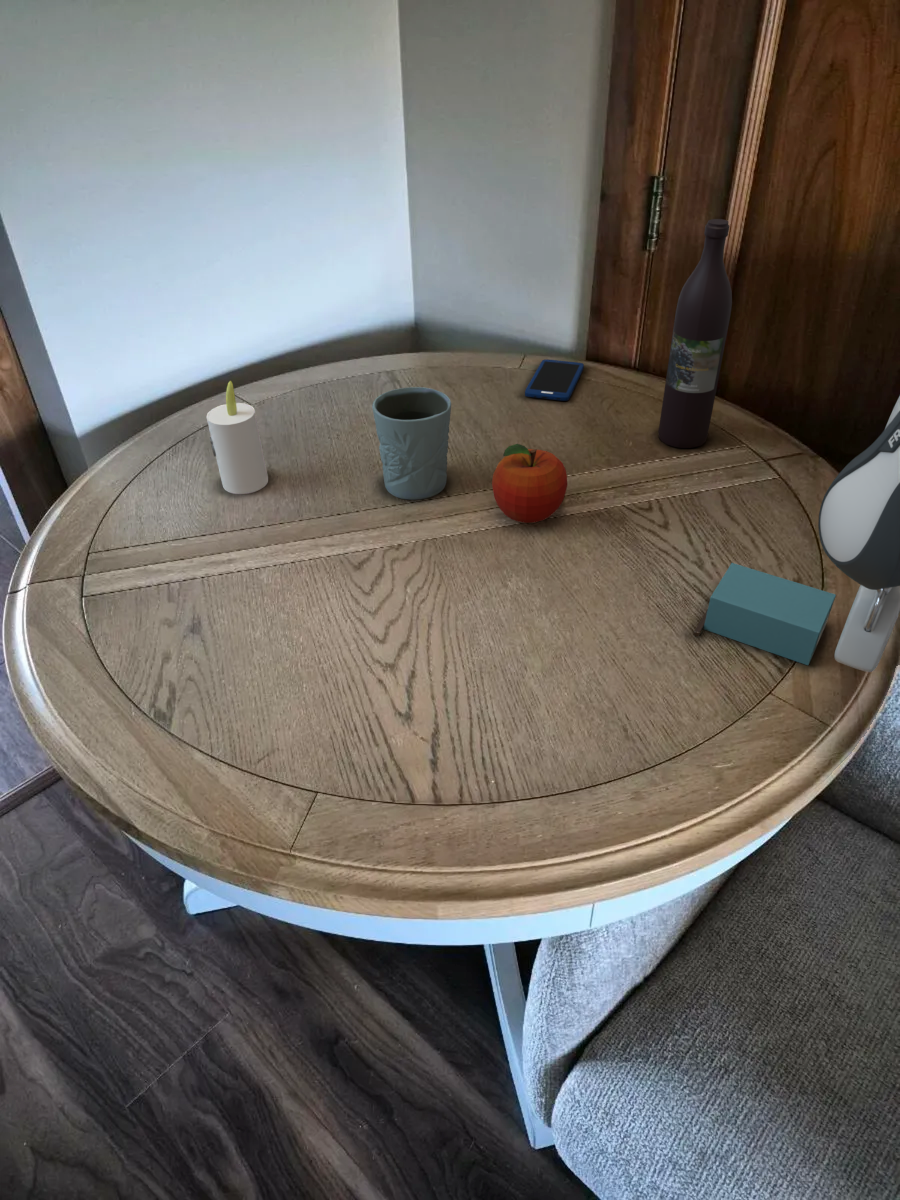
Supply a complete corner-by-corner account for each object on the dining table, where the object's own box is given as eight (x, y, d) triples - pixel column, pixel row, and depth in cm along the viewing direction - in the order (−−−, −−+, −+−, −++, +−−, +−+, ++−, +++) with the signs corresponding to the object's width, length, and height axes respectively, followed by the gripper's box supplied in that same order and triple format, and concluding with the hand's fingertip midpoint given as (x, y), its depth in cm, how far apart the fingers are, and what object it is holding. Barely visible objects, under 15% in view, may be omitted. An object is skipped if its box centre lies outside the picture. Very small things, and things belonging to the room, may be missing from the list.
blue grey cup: (366, 493, 112) (358, 412, 104) (400, 458, 119) (394, 380, 111) (434, 508, 109) (430, 426, 101) (464, 472, 116) (463, 392, 108)
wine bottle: (648, 439, 121) (678, 223, 102) (674, 422, 125) (707, 211, 106) (690, 454, 117) (729, 233, 98) (715, 436, 121) (758, 220, 102)
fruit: (574, 528, 104) (580, 459, 98) (501, 538, 103) (502, 468, 96) (553, 489, 111) (557, 422, 105) (484, 498, 110) (484, 431, 104)
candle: (219, 475, 117) (195, 375, 107) (265, 467, 118) (245, 368, 109) (223, 498, 112) (199, 395, 103) (271, 489, 114) (251, 387, 104)
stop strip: (728, 587, 94) (729, 583, 94) (698, 637, 88) (699, 633, 87) (723, 585, 94) (724, 581, 94) (692, 635, 88) (693, 631, 88)
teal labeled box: (825, 627, 88) (837, 594, 86) (808, 666, 84) (820, 633, 81) (724, 594, 93) (731, 562, 90) (703, 629, 89) (710, 597, 86)
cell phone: (523, 396, 133) (523, 392, 133) (542, 362, 143) (543, 358, 143) (568, 402, 131) (568, 397, 131) (584, 366, 141) (585, 362, 141)
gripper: (922, 608, 67) (871, 723, 75) (958, 491, 80) (911, 600, 89) (841, 583, 69) (801, 697, 78) (889, 474, 82) (849, 582, 91)
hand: (860, 645), depth 83 cm, fingers closed
